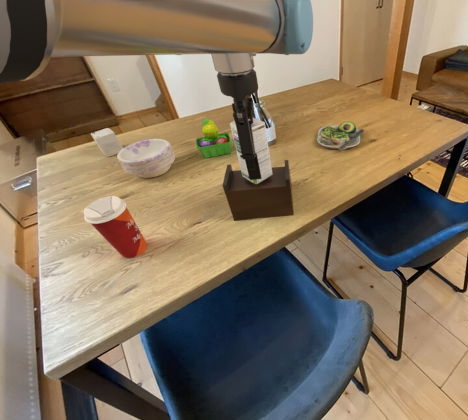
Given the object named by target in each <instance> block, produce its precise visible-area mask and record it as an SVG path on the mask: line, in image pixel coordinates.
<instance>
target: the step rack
mask: <svg viewBox="0 0 468 420" xmlns="http://www.w3.org/2000/svg"><path fill="white" fill-rule="evenodd" d="M283 161H284V166H274V167H272V174H273V175H271V176H270V177H268V178H266V179H265V180H263V181H261V182H260V183H258V184H254V183H253V182H251V181H249V180H248V179H246V178H245V177H243V176H242V172H241V169H238V170H237V169H235V170H233V168H232V164H226V168H225V173H224V177H223V181H222V188H223V191H224V195H225V198H226V201H227V203H228V207H229V209H230V210H229V211H230V212H231V216H232V219H233V221H234V222H235V221H236V222H237V221H246V220H257V219H265V218H275V217H285V216H287V217H288V216H294V214H295V213H294V201H293V189H292V187H293V186H292V178H291V177H292V176H291V169H290V165H289V163H290V162H289V159H284V160H283Z"/></svg>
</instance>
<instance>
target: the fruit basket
mask: <svg viewBox="0 0 468 420" xmlns="http://www.w3.org/2000/svg"><path fill="white" fill-rule="evenodd" d="M201 132H202V134H203V136H201V137H197V138H196V139H195V145H196V149H197V150H199V152H200V154H201V155H202V157H203V158H204V159H210V158H214V157H218V156H219V157H220V156H224V155H228V154H231V150H232V148H231V145H232V140H231V137H230V132H222V133H219V128H218V127H217V125H216V124H215V122H214V120H211V119H209V118H207V119H205V118H204V120H203V122H202V129H201Z"/></svg>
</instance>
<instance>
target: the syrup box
mask: <svg viewBox="0 0 468 420" xmlns="http://www.w3.org/2000/svg"><path fill="white" fill-rule="evenodd" d="M249 120H250V119H248V121H249ZM229 127H230V131H231V135H232V139H233V143H234V147H235V151H236V156H237V159H238V163H239V167H240V170H241V172H242V176H243V177H245V178H246V179H248V180H249V181H251V182H253V183H254V184H258V183H260V182H261V181H263V180H265V179H266V178H268V177H270V176H271V175H273V174H272V168H273V167H272V161H271V155H270V154H271V153H270V148H269V142H268V141H269V140H268V136H267V130H266V123H265V121H262V120H260V119H257V118H256V119H255V118H253V124H252V132H253V139H254V147H255V153H256V154H257V158H258V163H259V168H260V173H261V179H256V180H250V179H249V174H248V170H247V166H246V162H245V159H243V158H241V157H240V155H242V153H241V148H240V143H239V138H238V133H237V128H236V124H235V120H233V121H231V122H229Z"/></svg>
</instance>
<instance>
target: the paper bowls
mask: <svg viewBox="0 0 468 420" xmlns="http://www.w3.org/2000/svg"><path fill="white" fill-rule="evenodd" d="M116 155H117V156H116V158H117V160H118V162H119V164H120V166H121V167H122V169H123V171H124V172H125V173H126V174H129V175H132V176H137V177H140V178H144V179H151V178H155V177H159V176H162V175H164V174H165V173H167V172H168V171H169V170H170V168H171V166H172V164H173V163H174V162H175V160H176V154H175V152H174V149H173V147H172V145H171V142H169V141H168V140H166V139H163V138H148V139H143V140H139V141H136V142H133V143H130V144H128V145H126V146H124V147H123V149H122V150H121V151H120V152H119V153H117V154H116Z"/></svg>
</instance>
